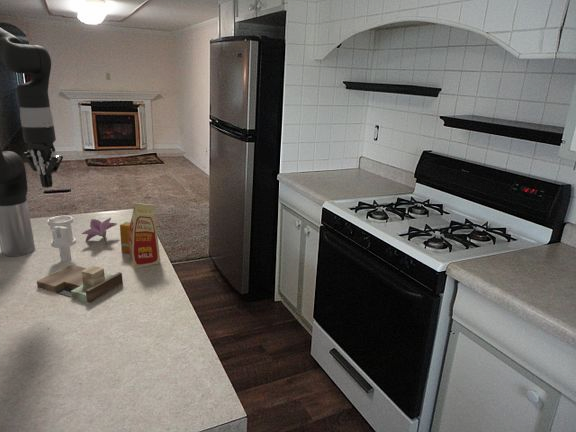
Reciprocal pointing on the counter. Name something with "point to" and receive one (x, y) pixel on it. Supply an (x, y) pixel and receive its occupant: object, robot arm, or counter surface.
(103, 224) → the lily
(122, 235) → the supplement box
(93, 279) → the maple block
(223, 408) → the counter surface
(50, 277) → the trap track
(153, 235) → the milk carton
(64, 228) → the white tall cylindrical piece
